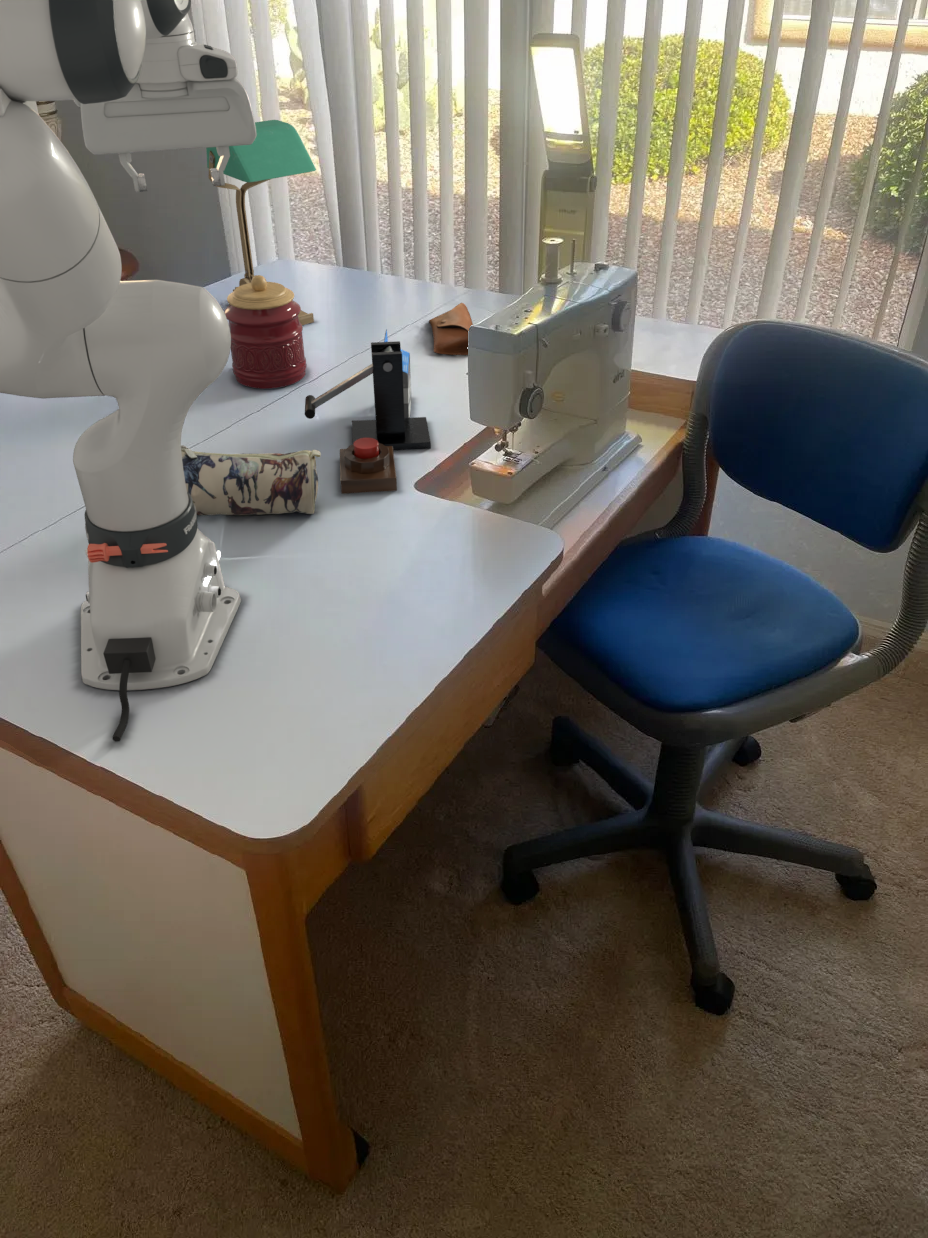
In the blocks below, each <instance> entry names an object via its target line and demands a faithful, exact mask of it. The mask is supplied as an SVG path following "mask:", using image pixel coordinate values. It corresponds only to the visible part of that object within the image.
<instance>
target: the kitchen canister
mask: <svg viewBox="0 0 928 1238" xmlns="http://www.w3.org/2000/svg"><path fill="white" fill-rule="evenodd" d="M236 287H237V288H236V289H235V288H234V289H235V291H233V290H232V292H231V293H228V295H227V297H226V299H227V300H226V301H227V303H228V305H227V307H226V308H225V309H224V310H223V311H224V313H225V315H226V318H227V321H228V324H229V328H230V334H231V348H230V354H231V361H232V363H231V367H232V373H233V374H234V377H235V381H237V382H238V384H240V385H243V386H246V387H248V388H251V389H253V388H254V389H261V390H262V389H264V390H267V389H279V388H285V387H288V386H291V385H294V384H296V383H298V382H300V381H301V380H302V379H304V378H305V376H306V372H307V366H308V365H307V359H306V358H307V357H305V355H306V354H305V347H304V337H303V336H304V335H303V325H302V324H301V323H300V322H299V318H298V315H299V313H300V311H301V310H302V308H301V305H300V304H299V303H298V302H297V301H295V299H294V298H295V292H294V291H293V290H291V289H290V288H288V287H286V286H284V285H283V284H281V283H278V282H274V281H267V279H266V277H265V276H263V275H262V274H261V275H260V274H258V275H257V274H256V276H255V275H254V277H253V278H252V280H251V283H247V284H244V285H241V286H239V285H238V286H236ZM229 304H230V305H229Z"/></svg>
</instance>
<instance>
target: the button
mask: <svg viewBox="0 0 928 1238" xmlns="http://www.w3.org/2000/svg"><path fill="white" fill-rule="evenodd" d="M354 455H355V457H357V458H361V459H370V458H374V457H377V456H378V455H379V444H378V441H377V440H376V439H373V438H360V439H358V440H356V441H355V442H354Z"/></svg>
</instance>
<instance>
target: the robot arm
mask: <svg viewBox="0 0 928 1238" xmlns="http://www.w3.org/2000/svg"><path fill="white" fill-rule="evenodd" d="M191 6H192V0H0V394H6V395H12V396H16V397H17V396H18V397H26V398H32V399H33V398H34V399H43V400H44V399H63V398H64V399H65V398H82V397H104V396H105V397H113V398H115V399H116V403H117V406H118V408H117V409H116V410H115V411H113V412H112V413H110V414H108V415H106V416H104V417H102V418H101V419H99V420H98V421H96V422H94V423H93V424H91V425H90V426H89V427H88V428H87V429H85V430H84V431H83V433H81V435H80V436H79V438H78V439H77V441H76V442H75V445H74V448H73V452H72V453H73V455H72V462H73V467H74V470H75V474H76V479H77V481H78V486H79V489H80V492H81V496H82V500H83V504H84V508H85V511H84V522H85V523H84V529H85V530H84V531H85V536H86V538H87V542H88V545H87V548H86V549H85V550H84V553H85V556H86V560H87V575H88V591H86V593H85V600H84V601H83V602H82V603H81V605H80V672H81V673H80V675H81V680H82V683H83V684H85V685H86V686H89V687H92V688H96V689H100V690H107V691H118V693H119V701H120V706H121V715H120V719H119V723H118V725H117V727H116V728H115V731H114V733H113V735H112V740H113V741H114V742H115V743H118V742H120V741H121V739H122V736H123V734H124V732H125V730H126V728H127V725H128V722H129V718H130V702H129V698H128V691H141V690H143V691H144V690H151V689H152V690H153V689H162V688H168V687H169V688H170V687H173V686H179V685H182V684H187V683H190V682H192V681H195V680H198V679H200V678H203V677H205V676H207V674H209V673H210V672H211V670H212V667H213V665H214V663H215V662H216V659H217V657H218V655H219V652H220V650H221V648H222V645H223V644H224V641H225V638H226V637H227V635H228V632H229V630H230V627H231V625H232V623H233V621H234V618H235V616H236V614H237V612H238V610H239V608H240V605H241V603H242V598H241V595H240V592H239V591H237V590H236V589H234V588H232V587H228V586H226V585H225V580H224V576H223V573H222V568H221V565H220V558H221V556H222V555H221V551H220V550H217V548H216V544H215V542H214V541H213V540H211V539H210V538H209V537H207V536H206V535H205V534H204V533H203V532H202V531H200V529H199V528H198V527H199V524H198V518H197V516H198V515H196V514H197V513H196V508H195V506H194V503H193V500H192V497H191V495H190V494H189V493H188V492H187V488H186V483H185V477H184V471H183V462H182V452H181V445H182V434H183V433H182V432H183V427H184V424H185V420H186V419H187V418H186V417H187V414H188V413H189V411H190V409H191V407H192V406H193V404H194V403H195V401H196V400H197V399H198V397H199V396H200V395H201V394H202V393H203V392H204V391H205V390H206V389H207V388H208V387H209V386H210V385H212V384H213V383H215V381H216V380H217V379H218V378H219V377H220V376H221V374H222V373H223V371H224V370H225V368H226V366H227V363H228V360H229V357H230V354H231V334H230V328H229V320H228V319H227V318H226V315H225V313H224V311H225V310H224V309H223V307H222V306H221V304H220V303H219V302H218V300H217V299H216V298H215V297H214V296H213V295H212V294H211V293H210V292H209V291H208V290H207V289H206V288H205V287H204V286H200V285H193V284H187V283H182V282H176V281H168V280H162V279H140V280H139V279H138V280H121V279H122V270H123V266H122V256H121V253H120V250H119V248H118V244H117V243H116V241H115V237H114V236H113V234H112V232H111V230H110V227H109V225H108V223H107V221H106V219H105V216H104V215H103V212H102V210H101V208H100V206H99V204H98V201H97V199H96V197H95V196H94V193H93V190H92V189H91V187H90V185H89V183H88V181H87V179H86V178H85V176H84V174H83V173H82V171H81V168H79V166H78V164H77V163H76V161H75V160H74V158H73V157H72V155H71V154H70V152H69V150H68V149H67V147H65V145H64V143H63V142H62V141H61V140H60V138H59V137H58V136H57V134H56V133H55V132H54V131H53V130H52V128H51V127H50V126H49V124H48V123H46V121H45V120H44V119H43V118H42V117H41V116H40V114H39V109H38V105H37V102H57V101H58V102H59V101H60V102H61V101H73V103H74V104H75V106H77V108H78V109H80V116H81V117H80V118H81V127H82V135H83V141H84V146H85V149H87V150H88V151H89V152H90V153H91V154H92V155H95V156H98V155H99V156H101V155H115V154H118V159H119V164H120V165H121V167H123V169H124V170H125V172H126V173H127V174H128V175H129V176H130V178H132V183H133V186H134V187H133V188H134V192H135V193H140V192H141V193H142V192H148V187H147V181H146V176H145V173H144V172H143V173H140V172H139V173H138V172H137V171H136V169H135V168H134V167H133V165H132V164H131V163H132V161H133V159H132V154H133V153H147V152H159V151H162V152H163V151H177V150H190V149H206V148H208V147H216V149H217V153H218V155H219V156H221V157H220V159H219V162H218V165H217V167H216V168H211V169H210V172H211V176H212V178H211V179H212V182H211V184H212V186H213V187H216V186H224V185H225V183H226V181H225V174H223V171H224V170H225V167H226V165H227V162H228V160H229V157H230V152H229V146H238V145H251V144H252V143H253V142H254V140H255V138H256V136H257V134H256V126H255V122H256V120H255V116H254V112H253V108H252V104H251V100H250V97H249V94H248V92H247V90H246V88H245V86H244V85H243V83H242V82H241V81H240V79H238V72H239V71H238V69H239V68H238V62H237V60H236V58H235V56H234V55H233V54H231V53H230V52H228V51H226V50H224V49H221V48H217V47H213V46H211V45H208V44H203V43H200V42H197V41H196V39H195V32H194V26H193V23H192V20H191V18H190V15H189V12H190V10H191Z"/></svg>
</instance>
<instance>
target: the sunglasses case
mask: <svg viewBox="0 0 928 1238" xmlns="http://www.w3.org/2000/svg"><path fill="white" fill-rule="evenodd" d="M428 323H429V325H430V327H431V330H432V337H433V353H434V354H437V355H443V356H469V355H468V349H467V347H468V331H469V328H470V326H471V325H473V326H474V324H473V320H472V317H471V314H470V311H469V309H468V307H467V305H466V304H465V303H464V302H460V303H458V304H456V305H455V306H454V307H453V308H452V309H450V310H447V311H445V312H443V313H441V314H439V315H437V316H434V317H433V318H431V319H429V320H428Z"/></svg>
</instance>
